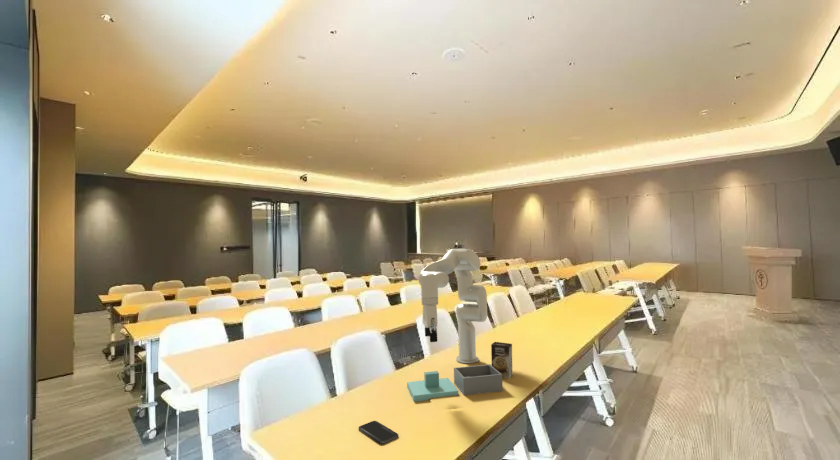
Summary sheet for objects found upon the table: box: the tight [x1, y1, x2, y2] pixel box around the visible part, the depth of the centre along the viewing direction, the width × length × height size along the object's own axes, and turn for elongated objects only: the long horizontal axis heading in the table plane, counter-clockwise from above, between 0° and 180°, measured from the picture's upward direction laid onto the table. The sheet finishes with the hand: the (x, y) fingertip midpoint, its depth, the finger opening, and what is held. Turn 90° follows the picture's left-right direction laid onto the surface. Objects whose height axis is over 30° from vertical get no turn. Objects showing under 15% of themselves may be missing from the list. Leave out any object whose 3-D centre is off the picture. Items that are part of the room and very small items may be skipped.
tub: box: [453, 363, 504, 396], centre depth 170 cm, size 14×18×8 cm
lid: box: [406, 370, 459, 402], centre depth 168 cm, size 16×20×8 cm
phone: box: [358, 420, 399, 446], centre depth 132 cm, size 8×1×15 cm
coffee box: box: [490, 341, 513, 379], centre depth 184 cm, size 9×6×16 cm
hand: (431, 338), depth 168 cm, fingers open, 9 cm apart
